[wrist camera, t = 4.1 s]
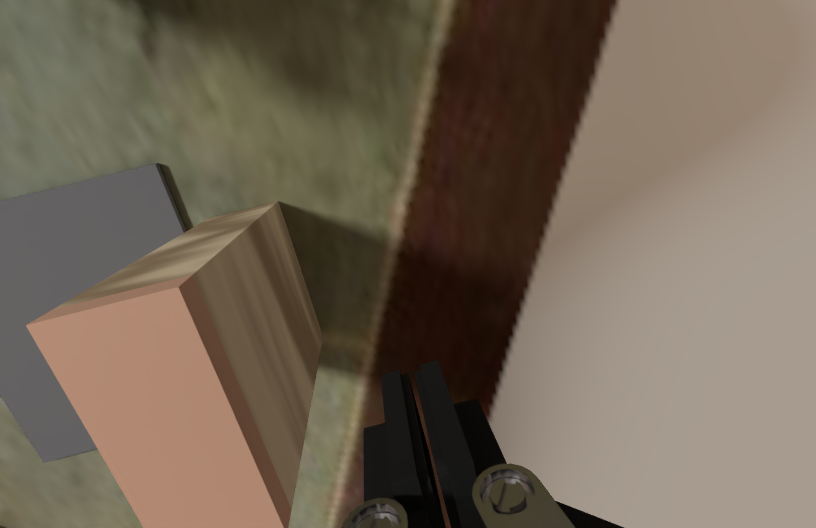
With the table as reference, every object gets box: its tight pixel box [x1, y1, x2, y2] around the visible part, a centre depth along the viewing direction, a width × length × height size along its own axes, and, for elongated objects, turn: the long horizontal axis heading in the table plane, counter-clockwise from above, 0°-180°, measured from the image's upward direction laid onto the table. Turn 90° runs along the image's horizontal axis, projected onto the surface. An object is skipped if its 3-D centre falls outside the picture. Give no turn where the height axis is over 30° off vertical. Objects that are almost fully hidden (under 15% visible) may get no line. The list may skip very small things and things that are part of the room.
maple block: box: [26, 201, 323, 528], centre depth 19 cm, size 4×9×14 cm, turn 13°
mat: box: [0, 163, 187, 462], centre depth 25 cm, size 14×16×1 cm
